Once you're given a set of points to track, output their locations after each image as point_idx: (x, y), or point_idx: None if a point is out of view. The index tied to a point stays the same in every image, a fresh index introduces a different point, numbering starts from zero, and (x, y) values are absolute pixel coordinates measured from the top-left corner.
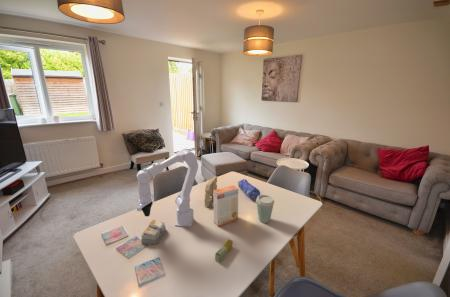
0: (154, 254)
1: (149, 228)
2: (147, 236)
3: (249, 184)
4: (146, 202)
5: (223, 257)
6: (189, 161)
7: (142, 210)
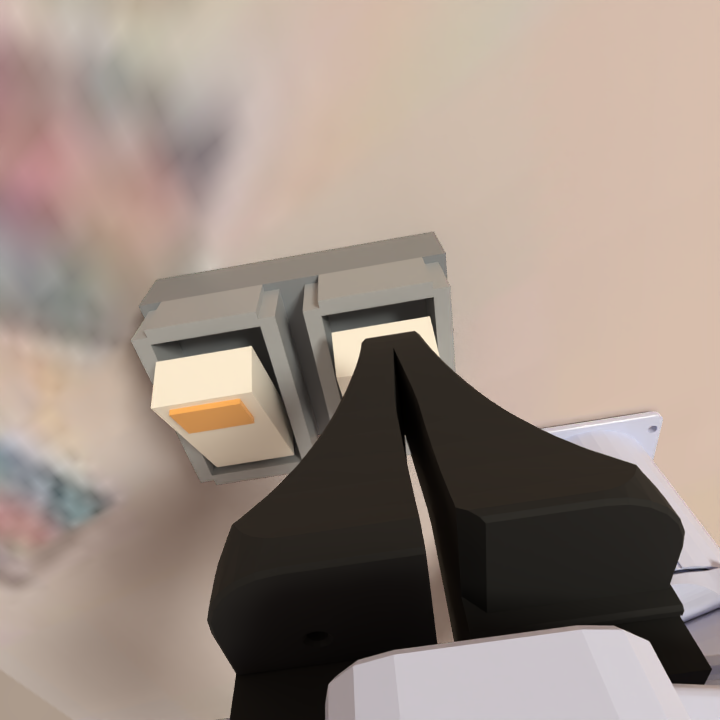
0: (110, 462)
1: (231, 423)
2: None
3: None
4: None
5: None
6: None
7: (319, 446)
